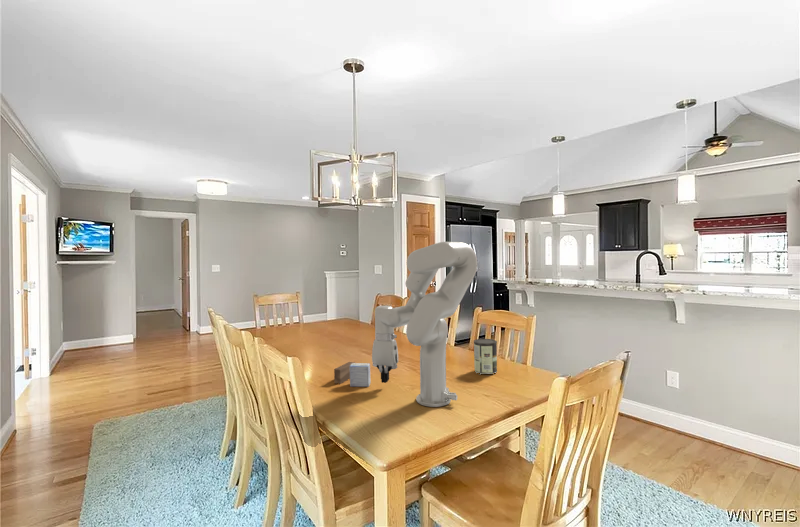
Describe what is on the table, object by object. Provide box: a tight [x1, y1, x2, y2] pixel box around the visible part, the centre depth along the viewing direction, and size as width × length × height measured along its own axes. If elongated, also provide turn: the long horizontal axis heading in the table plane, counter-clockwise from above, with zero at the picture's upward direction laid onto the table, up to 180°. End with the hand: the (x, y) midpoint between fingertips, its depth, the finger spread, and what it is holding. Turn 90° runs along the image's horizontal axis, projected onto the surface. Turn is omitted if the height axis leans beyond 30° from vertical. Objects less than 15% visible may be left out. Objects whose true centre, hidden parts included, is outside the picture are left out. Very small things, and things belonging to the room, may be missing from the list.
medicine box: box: [349, 362, 372, 388], centre depth 163 cm, size 8×4×9 cm, turn 84°
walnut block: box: [333, 361, 356, 385], centre depth 171 cm, size 3×12×6 cm, turn 155°
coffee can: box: [473, 338, 498, 375], centre depth 178 cm, size 10×10×14 cm
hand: (385, 381), depth 158 cm, fingers closed
